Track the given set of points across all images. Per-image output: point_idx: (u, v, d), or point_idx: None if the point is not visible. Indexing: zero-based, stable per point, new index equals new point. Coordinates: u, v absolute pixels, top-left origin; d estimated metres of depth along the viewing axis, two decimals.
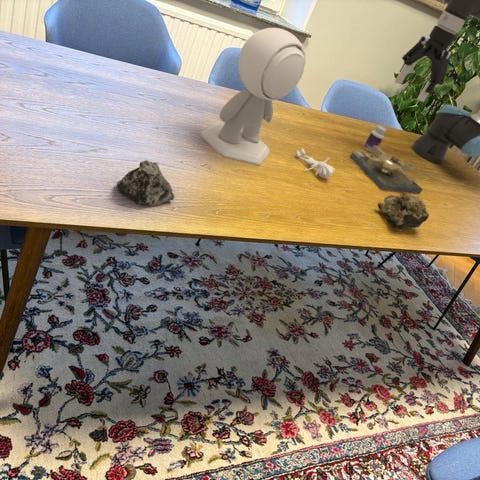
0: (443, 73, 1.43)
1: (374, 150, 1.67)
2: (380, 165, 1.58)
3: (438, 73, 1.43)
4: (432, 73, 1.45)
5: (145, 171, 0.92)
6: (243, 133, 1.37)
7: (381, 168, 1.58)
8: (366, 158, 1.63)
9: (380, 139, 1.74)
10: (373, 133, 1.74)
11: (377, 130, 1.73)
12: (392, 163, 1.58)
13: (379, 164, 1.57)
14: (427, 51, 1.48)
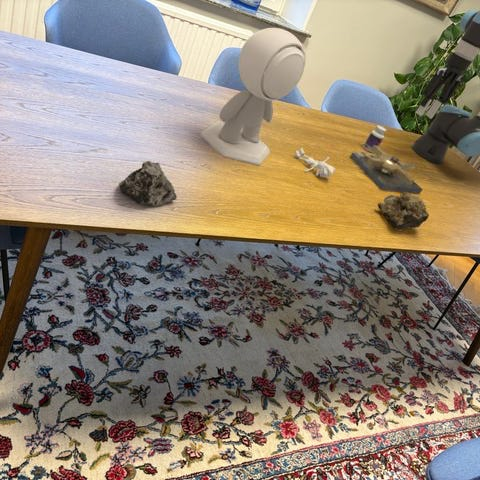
0: (430, 86, 1.62)
1: (374, 150, 1.67)
2: (380, 165, 1.58)
3: None
4: None
5: (148, 172, 0.92)
6: (243, 133, 1.37)
7: (381, 168, 1.58)
8: (366, 158, 1.63)
9: (380, 139, 1.74)
10: (373, 133, 1.74)
11: (377, 130, 1.73)
12: (392, 163, 1.58)
13: (379, 164, 1.57)
14: None
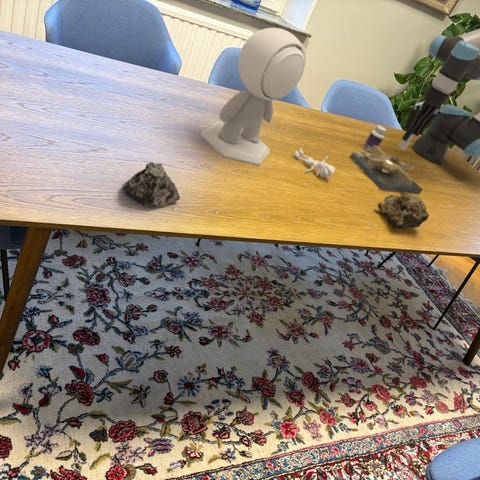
0: (410, 121, 1.58)
1: (374, 150, 1.67)
2: (380, 165, 1.58)
3: None
4: None
5: (152, 173, 0.93)
6: (243, 133, 1.37)
7: (381, 168, 1.58)
8: (366, 158, 1.63)
9: (380, 139, 1.74)
10: (373, 133, 1.74)
11: (377, 130, 1.73)
12: (392, 163, 1.58)
13: (379, 164, 1.57)
14: None
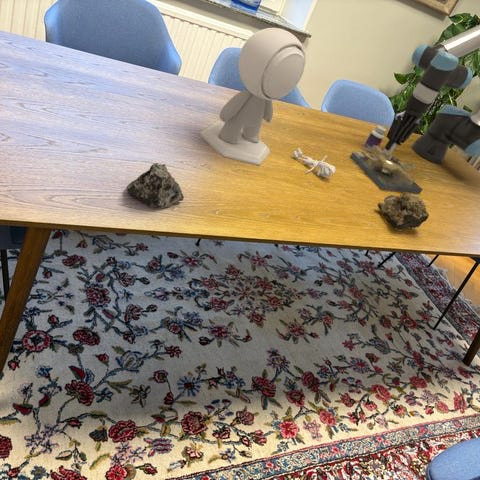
0: (391, 131, 1.58)
1: (374, 150, 1.67)
2: (380, 165, 1.58)
3: None
4: None
5: (157, 174, 0.93)
6: (243, 133, 1.37)
7: (381, 168, 1.58)
8: (366, 158, 1.63)
9: (380, 139, 1.74)
10: (373, 133, 1.74)
11: (377, 130, 1.73)
12: (392, 163, 1.58)
13: (379, 164, 1.57)
14: None
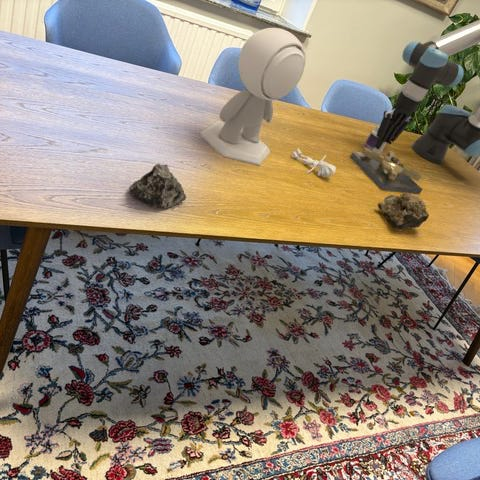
0: (381, 130, 1.56)
1: (367, 154, 1.60)
2: None
3: None
4: None
5: (160, 175, 0.93)
6: (243, 133, 1.37)
7: None
8: (366, 158, 1.63)
9: None
10: (373, 133, 1.74)
11: (377, 130, 1.73)
12: (399, 166, 1.58)
13: None
14: None
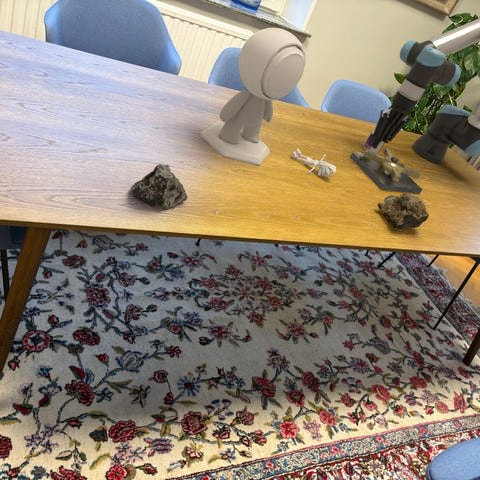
0: (378, 129, 1.55)
1: (368, 156, 1.59)
2: None
3: None
4: None
5: (162, 175, 0.93)
6: (243, 133, 1.37)
7: None
8: (366, 158, 1.63)
9: None
10: (373, 133, 1.74)
11: None
12: (400, 166, 1.58)
13: None
14: None
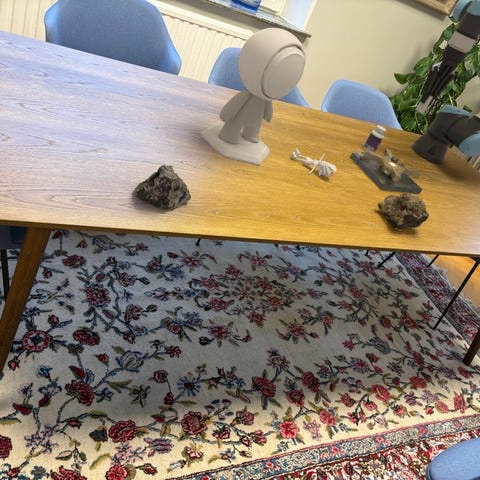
0: (427, 83, 1.58)
1: (368, 156, 1.59)
2: None
3: None
4: None
5: (167, 176, 0.94)
6: (243, 133, 1.37)
7: None
8: (366, 158, 1.63)
9: (380, 139, 1.74)
10: (373, 133, 1.74)
11: (377, 130, 1.73)
12: (400, 166, 1.58)
13: None
14: None
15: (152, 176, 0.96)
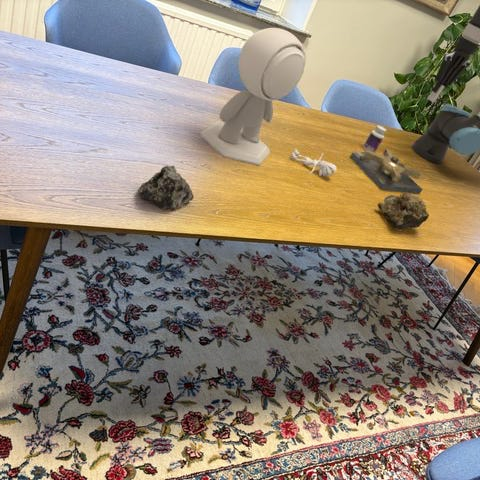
0: (440, 73, 1.66)
1: (368, 156, 1.59)
2: None
3: None
4: None
5: (170, 177, 0.94)
6: (243, 133, 1.37)
7: None
8: (366, 158, 1.63)
9: (380, 139, 1.74)
10: (373, 133, 1.74)
11: (377, 130, 1.73)
12: (400, 166, 1.58)
13: None
14: None
15: (155, 177, 0.97)
